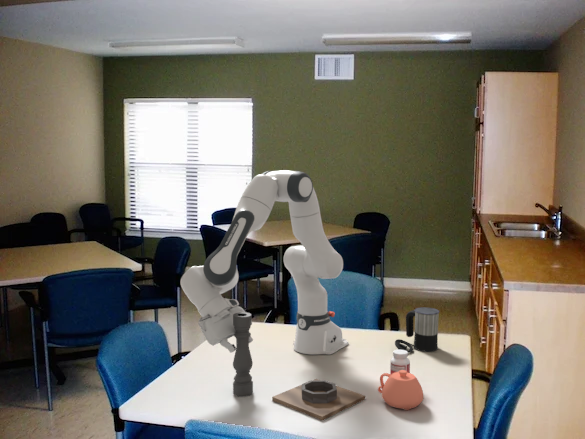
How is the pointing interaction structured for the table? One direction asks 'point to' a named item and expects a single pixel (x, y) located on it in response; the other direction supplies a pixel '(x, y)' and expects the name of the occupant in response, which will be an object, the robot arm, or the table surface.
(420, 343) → the milk frother
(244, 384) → the candle holder
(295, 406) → the candle dish
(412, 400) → the sugar bowl
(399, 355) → the pill bottle
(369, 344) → the table surface
